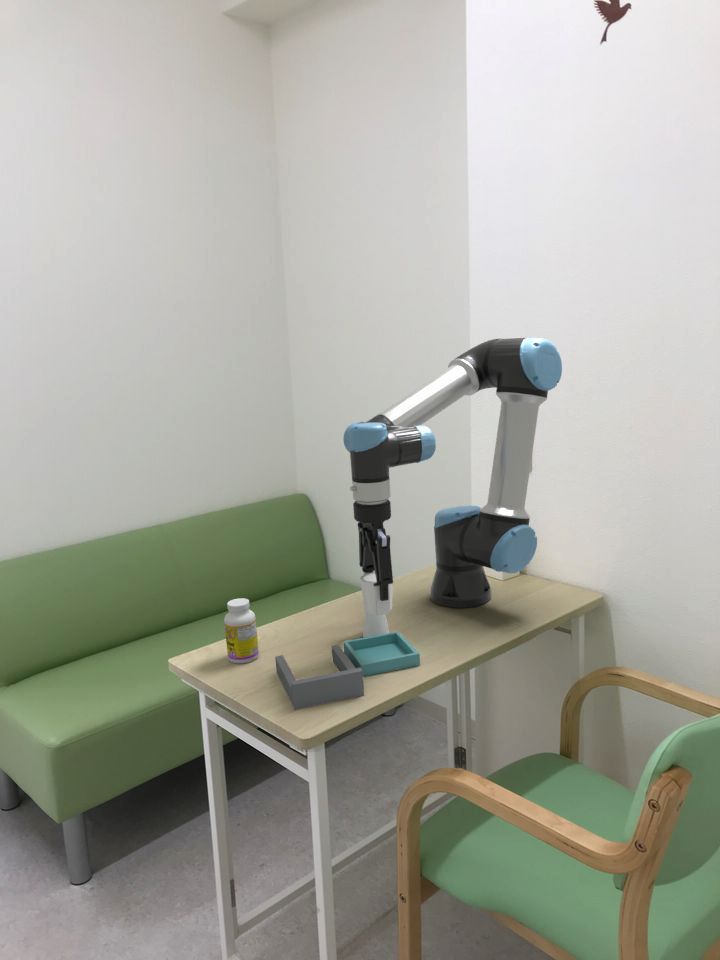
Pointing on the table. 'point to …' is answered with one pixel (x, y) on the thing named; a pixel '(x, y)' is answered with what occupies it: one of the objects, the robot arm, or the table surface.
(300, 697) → the bay
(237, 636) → the supplement bottle
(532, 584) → the table surface
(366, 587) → the shot glass
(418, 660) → the tray
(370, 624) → the cosmetic bottle
